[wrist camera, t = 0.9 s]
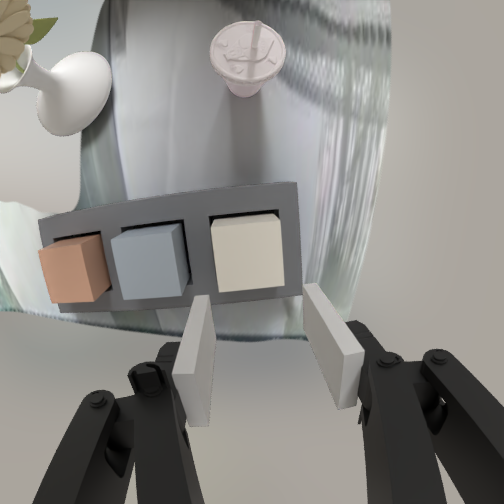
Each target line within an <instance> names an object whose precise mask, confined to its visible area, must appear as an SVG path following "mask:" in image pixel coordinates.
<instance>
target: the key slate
mask: <svg viewBox="0 0 504 504" xmlns="http://www.w3.org/2000/svg"><path fill="white" fill-rule="evenodd" d="M111 245H112V250H113V255H114V260H115V265H116V270H117V274H118V279H119V283H120V287H121V291H122V295H123V299H124V300H131V299H146V298H160V297H173V296H182V294H183V292H184V289H185V287H186V285H187V282H188V280H189V271H188V265H187V259H186V252H185V246H184V239H183V232H182V224H181V223H176V224H167V225H160V226H152V227H144V228H137V229H130V230H127V231H125V232H123V233H122V234H120V235H118V236H116V237H115V238H113V239H111Z"/></svg>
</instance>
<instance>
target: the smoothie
mask: <svg viewBox="0 0 504 504" xmlns="http://www.w3.org/2000/svg"><path fill="white" fill-rule="evenodd" d="M285 56H286V48H285V44H284V42H283V40H282V38H281V37H280V35H279V34H278V33H277V32H276V31H275V30H273V29H272V28H270V27H269V26H267V25H265V24H262V22H261V21H259V20H257V21H255V22H253V21H242V22H236V23H233V24H230V25H228V26H226V27H224V28H223V29H221V30H220V31H219V32H218V33H217V34H216V35H215V37H214V38H213V40H212V42H211V46H210V61H211V64H212V66H213V68H214V70H215V71H216V72H217V73H218V75H220V76H221V77H222V78H223V79H224V80H225V82H226V84H227V86H228V88H229V89H230V91H231V92H232V93H233V94H234V95H236V96H238V97H243V98H245V97H250V96H253V95H254V94H256V93H257V92H258V91H259V89H260V88H261V87H262V86H263V85H264V83H265V82H266V81H268V80H270V79H272V78H273V77H274V76H275V75H277V74H278V73H279V71H280V70H281V68H282V66H283V64H284V60H285Z"/></svg>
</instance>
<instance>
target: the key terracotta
mask: <svg viewBox="0 0 504 504" xmlns="http://www.w3.org/2000/svg"><path fill="white" fill-rule="evenodd" d="M38 253H39V258H40V262H41V266H42V270H43V274H44V278H45V281H46V285H47V288H48V292H49V295H50V299H51V302H52V303H75V302H94V301H95V300H96V299H97V298H98V297H99V296H100V295H101V294H102V293H103V292H104V291H105V290H107V289H108V288H109V287H110V286H111V285H112V283H111V279H110V275H109V270H108V266H107V261H106V256H105V252H104V247H103V241H102V236H101V234H95V235H89V236H83V237H76V238H70V239H64V240H60V241H58V242H55V243H53V244H51V245H49V246H47V247H45V248H42V249H40V250H38Z"/></svg>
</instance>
